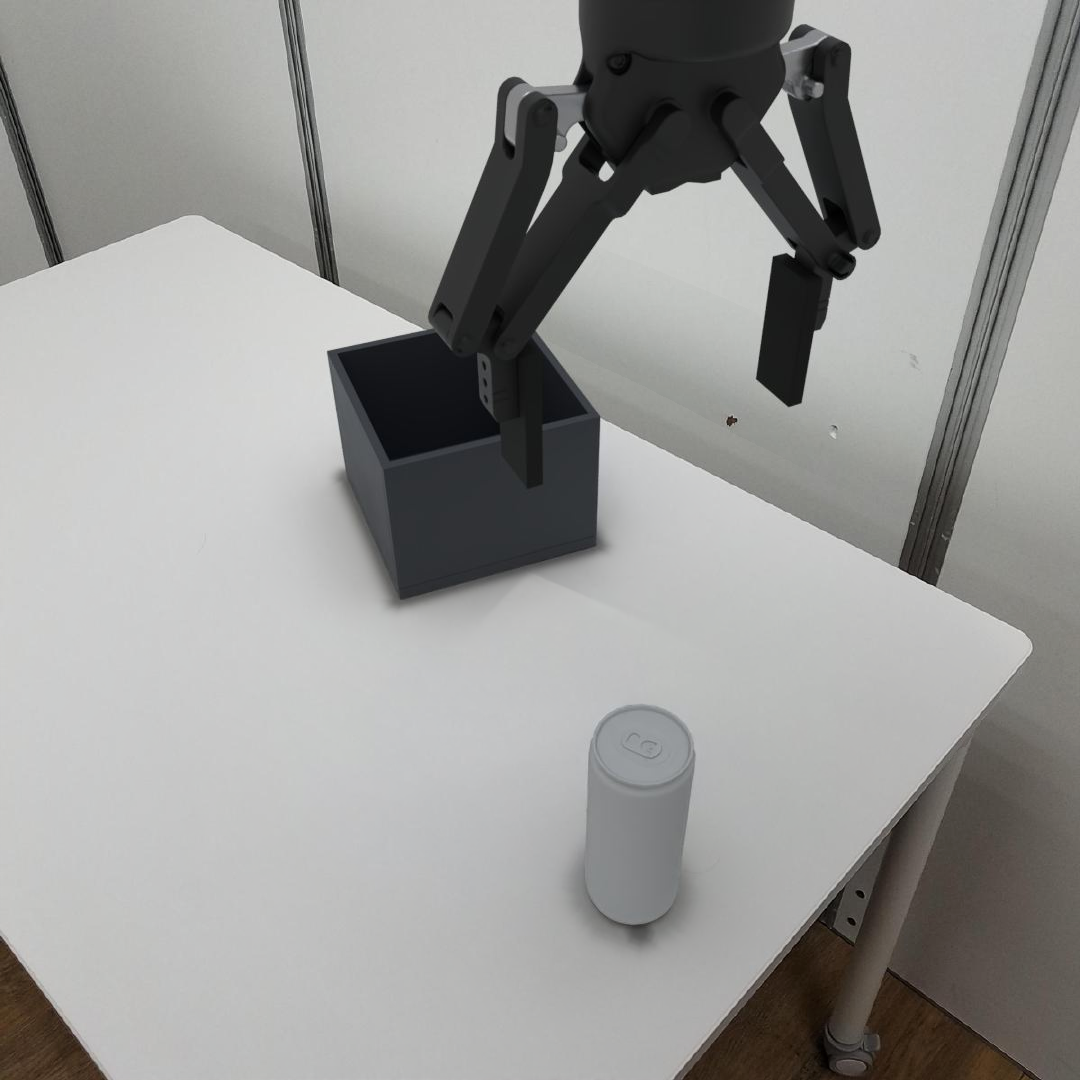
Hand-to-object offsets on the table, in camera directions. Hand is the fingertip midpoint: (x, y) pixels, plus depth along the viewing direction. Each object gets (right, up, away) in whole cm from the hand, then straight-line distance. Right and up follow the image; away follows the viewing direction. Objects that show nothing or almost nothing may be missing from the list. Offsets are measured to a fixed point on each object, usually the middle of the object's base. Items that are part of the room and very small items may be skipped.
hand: (655, 429), depth 51 cm
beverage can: (-1, -23, +7) cm, 24 cm away
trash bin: (-11, -3, +29) cm, 31 cm away
